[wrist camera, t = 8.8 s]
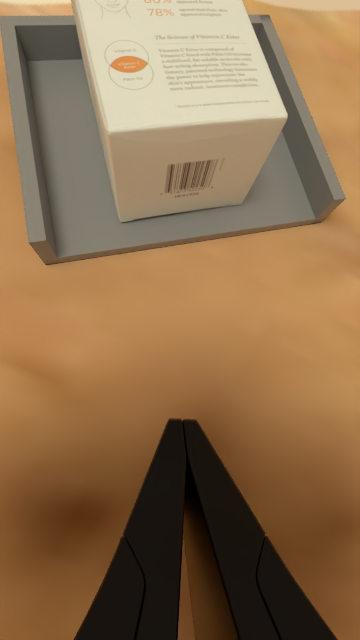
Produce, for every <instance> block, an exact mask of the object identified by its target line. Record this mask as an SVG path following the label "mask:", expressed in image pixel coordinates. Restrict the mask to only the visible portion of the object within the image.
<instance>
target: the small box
mask: <svg viewBox="0 0 360 640" xmlns="http://www.w3.org/2000/svg"><path fill="white" fill-rule="evenodd" d="M71 3H72V8H73V13H74V18H75V23H76V28H77V34H78V39H79V44H80V49H81V54H82V59H83V63H84V68H85V72H86V77H87V81H88V86H89V90H90V95H91V99H92V104H93V108H94V113H95V117H96V122H97V126H98V131H99V135H100V140H101V144H102V148H103V153H104V158H105V162H106V167H107V171H108V175H109V179H110V184H111V188H112V193H113V197H114V201H115V206H116V210H117V214H118V218H119V220H120V222H128V221H132V220H136V219H141V218H147V217H154V216H160V215H167V214H174V213H181V212H188V211H195V210H202V209H209V208H216V207H224V206H234V205H241V204H242V203H243V201H244V199H245V197H246V195H247V194H248V192H249V190H250V188H251V186H252V185H253V183H254V181H255V179H256V177H257V175H258V174H259V172H260V170H261V168H262V166H263V164H264V162H265V161H266V159H267V157H268V155H269V153H270V151H271V150H272V148H273V145H274V144H275V142H276V140H277V138H278V136H279V134H280V133H281V130H282V128H283V127H284V125H285V123H286V121H287V118H288V114H287V112H286V109H285V107H284V105H283V102H282V99H281V97H280V94H279V92H278V89H277V87H276V84H275V82H274V79H273V77H272V75H271V72H270V69H269V67H268V64H267V62H266V59H265V57H264V54H263V52H262V49H261V47H260V44H259V42H258V39H257V37H256V34H255V32H254V29H253V27H252V24H251V22H250V19H249V17H248V14H247V12H246V9H245V7H244V4H243V2H242V0H71Z"/></svg>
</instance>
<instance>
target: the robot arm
mask: <svg viewBox="0 0 360 640" xmlns="http://www.w3.org/2000/svg"><path fill="white" fill-rule="evenodd" d="M183 536H184V544H185V553H186V562H187V571H188V580H189V588H190V597H191V606H192V615H193V623H194V632H195V640H338V639H337V638H336V636H335V635H334V634H333V632H332V631H331V630H330V628H329V627H328V626H327V624H326V623H325V621H324V620H323V619H322V617H321V616H320V615H319V613H318V612H317V610H316V609H315V608H314V606H313V605H312V603H311V602H310V601H309V599H308V598H307V596H306V595H305V593H304V592H303V591H302V589H301V588H300V586H299V585H298V583H297V582H296V581H295V579H294V578H293V576H292V575H291V573H290V571H289V570H288V568H287V567H286V565H285V564H284V562H283V561H282V559H281V557H280V556H279V554H278V553H277V551H276V549H275V548H274V546H273V545H272V543H271V541H270V540H269V538H268V537H267V536H265V532H264V530H263V528H262V527H261V525H260V523H259V522H258V520H257V518H256V517H255V515H254V514H253V512H252V510H251V509H250V507H249V505H248V504H247V502H246V500H245V499H244V497H243V496H242V494H241V492H240V491H239V489H238V487H237V486H236V484H235V482H234V481H233V479H232V477H231V476H230V474H229V473H228V471H227V469H226V468H225V466H224V464H223V463H222V461H221V459H220V458H219V456H218V454H217V453H216V451H215V450H214V448H213V446H212V445H211V443H210V441H209V440H208V438H207V436H206V435H205V433H204V432H203V430H202V428H201V427H200V425H199V423H198V422H197V421H196V420H195V419H183V421H182V420H181V419H174V418H170V419H169V420H168V422H167V424H166V427H165V429H164V432H163V434H162V437H161V439H160V442H159V444H158V447H157V449H156V452H155V454H154V457H153V459H152V462H151V464H150V467H149V469H148V472H147V474H146V477H145V479H144V482H143V484H142V487H141V489H140V492H139V494H138V497H137V499H136V502H135V504H134V507H133V509H132V512H131V514H130V517H129V519H128V522H127V524H126V527H125V529H124V532H123V536H122V537H121V539H120V542H119V544H118V547H117V549H116V552H115V554H114V556H113V559H112V561H111V563H110V566H109V568H108V570H107V573H106V575H105V577H104V580H103V582H102V584H101V586H100V588H99V590H98V592H97V594H96V596H95V598H94V600H93V602H92V604H91V606H90V609H89V611H88V613H87V615H86V617H85V618H84V620H83V622H82V624H81V626H80V628H79V630H78V632H77V634H76V636H75V638H74V640H177V639H178V620H179V600H180V581H181V561H182V542H183Z"/></svg>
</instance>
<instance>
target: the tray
mask: <svg viewBox="0 0 360 640" xmlns="http://www.w3.org/2000/svg"><path fill="white" fill-rule="evenodd" d="M248 17H249V19H250V22H251V24H252V27H253V29H254V32H255V34H256V37H257V39H258V42H259V44H260V47H261V49H262V52H263V54H264V57H265V59H266V62H267V64H268V67H269V69H270V72H271V75H272V77H273V79H274V82H275V84H276V87H277V89H278V92H279V94H280V97H281V99H282V102H283V105H284V107H285V109H286V112H287V114H288V118H287V121H286V123H285V125H284V127H283V128H282V130H281V133H280V134H279V136H278V138H277V140H276V142H275V144H274V145H273V148H272V150H271V151H270V153H269V155H268V157H267V159H266V161H265V162H264V164H263V166H262V168H261V170H260V172H259V174H258V175H257V177H256V179H255V181H254V183H253V185H252V186H251V188H250V190H249V192H248V194H247V195H246V197H245V199H244V201H243V203H242V204H241V205H234V206H224V207H216V208H209V209H202V210H195V211H188V212H181V213H174V214H167V215H160V216H154V217H147V218H141V219H136V220H132V221H128V222H120V220H119V218H118V214H117V210H116V206H115V201H114V197H113V193H112V188H111V184H110V179H109V175H108V171H107V167H106V162H105V158H104V153H103V148H102V144H101V140H100V135H99V131H98V126H97V122H96V117H95V113H94V108H93V104H92V99H91V95H90V90H89V86H88V81H87V77H86V72H85V68H84V63H83V59H82V54H81V49H80V44H79V39H78V34H77V28H76V23H75V18H74V16H0V29H1V36H2V44H3V51H4V59H5V66H6V74H7V81H8V89H9V97H10V104H11V112H12V119H13V127H14V134H15V142H16V149H17V157H18V164H19V172H20V179H21V187H22V194H23V202H24V210H25V217H26V225H27V232H28V240H29V243H30V245H31V246H32V247H33V249H34V250H35V251H36V253H37V254H38V255H39V257H40V258H41V259H42V260H43V262H44V263H45V264H46V265H49V264H55V263H62V262H68V261H75V260H81V259H88V258H94V257H101V256H107V255H114V254H120V253H127V252H133V251H139V250H146V249H152V248H159V247H165V246H172V245H178V244H185V243H191V242H198V241H204V240H211V239H217V238H224V237H230V236H237V235H243V234H249V233H256V232H262V231H269V230H275V229H282V228H288V227H295V226H301V225H308V224H314V223H321V222H322V221H323V220H324V219H325V218H326V217H327V216H328V215H329V214H330V213H331V212H332V211H333V210H334V209H335V208H336V207H337V206H338V205H340V204H341V203H342V202H343V201H344V200H345V199H346V197H345V195H344V193H343V190H342V188H341V185H340V183H339V181H338V178H337V176H336V174H335V171H334V169H333V166H332V164H331V162H330V159H329V157H328V154H327V152H326V150H325V147H324V145H323V142H322V140H321V138H320V135H319V133H318V131H317V128H316V126H315V123H314V121H313V119H312V116H311V114H310V111H309V109H308V107H307V104H306V102H305V99H304V97H303V95H302V92H301V90H300V88H299V85H298V83H297V80H296V78H295V76H294V73H293V71H292V68H291V66H290V64H289V61H288V59H287V56H286V54H285V52H284V49H283V47H282V45H281V42H280V40H279V37H278V35H277V33H276V30H275V28H274V25H273V23H272V21H271V18H270V16H269V15H248Z"/></svg>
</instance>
